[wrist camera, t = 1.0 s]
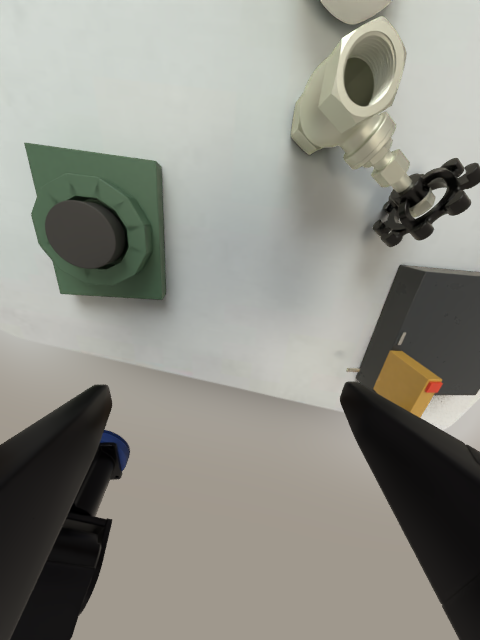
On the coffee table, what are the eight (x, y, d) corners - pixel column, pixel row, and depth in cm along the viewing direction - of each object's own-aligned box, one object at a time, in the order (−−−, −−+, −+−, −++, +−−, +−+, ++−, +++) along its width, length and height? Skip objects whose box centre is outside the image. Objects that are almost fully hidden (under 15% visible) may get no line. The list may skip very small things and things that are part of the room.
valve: (265, 147, 17) (364, 243, 21) (293, 108, 11) (425, 253, 15) (325, 50, 15) (422, 175, 19) (399, -62, 9) (518, 156, 13)
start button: (128, 266, 16) (119, 271, 15) (69, 261, 16) (53, 266, 14) (122, 205, 15) (111, 204, 13) (55, 198, 14) (36, 195, 13)
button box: (166, 293, 21) (157, 307, 17) (72, 288, 20) (44, 301, 16) (161, 166, 17) (149, 154, 13) (42, 149, 15) (-2, 132, 12)
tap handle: (384, 388, 25) (419, 424, 20) (372, 388, 24) (406, 425, 20) (402, 350, 23) (445, 381, 18) (389, 350, 22) (431, 381, 18)
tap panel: (447, 385, 30) (472, 403, 27) (322, 384, 28) (335, 404, 25) (515, 275, 24) (555, 283, 21) (361, 261, 21) (384, 268, 19)
